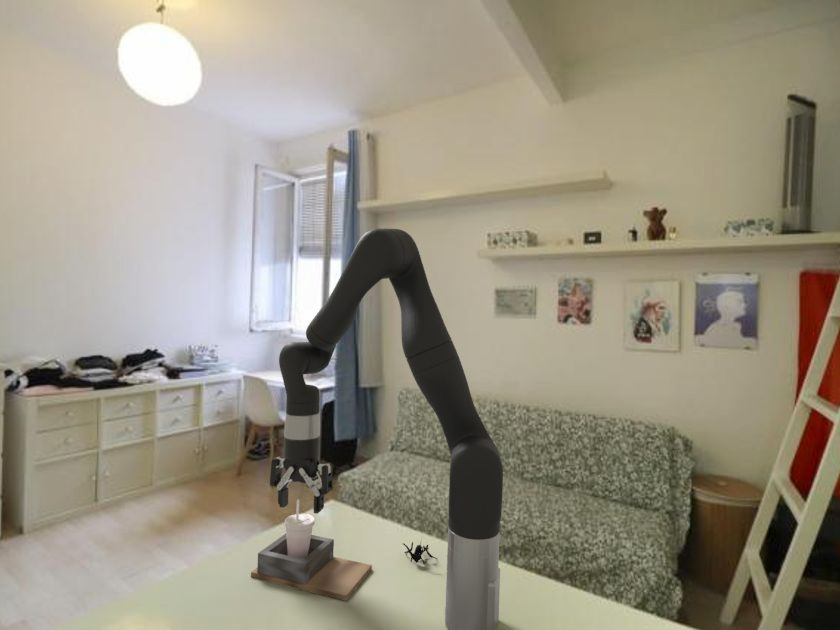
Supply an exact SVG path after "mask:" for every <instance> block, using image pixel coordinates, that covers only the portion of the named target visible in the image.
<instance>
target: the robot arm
mask: <svg viewBox="0 0 840 630" xmlns="http://www.w3.org/2000/svg"><path fill="white" fill-rule="evenodd" d="M415 241H416V240H415V239H414V238H413V237H412V236H411V235H410V234H409V233H408V232H406V231H405V230H402V229H400V228H399V229H398V228H374V229H370V230H369V231H367V232H365V233H364V234H363V235H362V236H361V237H360V238H359V240H358V242H357V243H356V244H355V247H354V249H353V251H352V253H351V255H350V257H349V259H348V260H347V263H346V265H345V267H344V269H343V271H342V273H341V275H340V277H339V279H338V280H337V283H336V284H335V287H334V288H333V290H332V291H331V293H330V295H329V296H328V298H327V299H326V301H325V303H324V304H323V305H322V307H320V309H319V311H318V312H317V313H316V315H315V316H314V317H313V319H312V320H311V321H310V323H309V324H308V325H307V328H306V331H305V336H306V339H307V341H294V342H292V341H291V342H288V343H286V344H285V345H283V347H282V349H281V350H280V353H279V356H278V365H279V369H280V373H281V377H282V382H283V385H284V389H285V394H286V402H285V405H286V407H285V410H286V412H285V420H284V429H283V431H284V434H283V435H284V436H283V438H284V439H283V455H284V458H283V456H281V455H279V456H277V457H275V458H272V460H271V465H270V478H269V486H271V487H275V488H276V489H277V503H278V505H279V508H285V507H288V504H289V487H288V486H289V484H290V483H291V482H293V483H296V482H299V483H301V484H306V485H307V487H308V488H309V489H311V490H312V493H313V494H314V495H313V513H314V514H319V513H320V512H322V510H323V509H324V507H325V495H327V494H329V493H331V491H333V490H334V485H333V484H334V483H333V479H334V478H333V475H334V474H333V464H332V462H327V463H320V459H319V456H320V451H321V449H320V448H321V446H320V445H321V418H320V417H321V415H320V408H321V407H320V406H321V405H320V402H321V401H320V398H321V396H320V395H321V393H320V388H319V387H318V386H315V385H313V384H308V383H307V384H306V381H305V378H304V375H311V374H319V373H320V372H323V370H325V369H326V368H327V367H328V365H329V364H330V362H331V359H332V356H333V354H334V352H335V349H336V345H337V344H338V343H339V342H340V341H341V340H342V339H343V336H345V334H347V332H348V330H349V329H350V328H351V327H352V325H353V324H354V321H355V319H356V317H357V313H358V309H359V306H360V304H361V302H362V300H363V298H364V297H365V295H366V294H367V293H368V292H369V291H370V290H371V289H373V288H374V286H376V284H378V283H380V282H381V281H382V280H383V279H384V280H385V279H388V280H389V282H390V284H391V286H392V288H393V291H394V292H395V295H396V297H397V300H398V302H399V303H398V304H399V307H400V308H399V309H400V317H401V319H400V320H401V321H400V324H401V325H400V326H401V327H400V328H401V331H400V332H401V335H400V336H401V345H402V349H403V354H404V357H405V359H406V362H407V364H408V366H409V370H410V372H411V374H412V377H413V378H414V381H415V383H416V385H417V387H418V388H419V389H420V391H421V393H422V395H423V397H424V398H425V399H426V402H427V403H428V404H429V406H430V407H431V408H432V410H433V412H434V414H435V416H437V419H438V421H439V423H440V426H441V428H442V431H443V434H444V437H445V440H446V443H447V446H448V450H449V451H448V452H449V454H450V464H449V483H448V484H449V485H448V487H449V489H448V491H449V493H448V524H447V525H448V530H447V555H446V557H447V558H446V584H445V585H446V586H445V588H446V589H445V607H444V613H445V614H444V615H445V616H444V617H445V618H444V622H445V626H446V629H447V630H497V629H498V628H497V627H498V624H499V619H500V589H501V588H500V587H501V568H500V567H499V562H500V559H499V558H500V557H499V556H500V531H501V519H502V513H503V511H502V510H503V509H502V508H503V490H504V487H503V485H504V469H503V463H502V459H501V454H500V452H499V450H498V448H497V446H496V444H495V442H494V441H493V439H492V438H491V435H490V434H489V431H488V430H487V428H486V426H485V424H484V422H483V421H482V419H481V417H480V415H479V413H478V411H477V409H476V407H475V404H474V400H473V398H472V397H473V396H472V394H471V391H470V386H469V384H468V380H467V376H466V373H465V370H464V367H463V365H462V362H461V359H460V357H459V353H458V351H457V349H456V346H455V344H454V342H453V340H452V337H451V335H450V333H449V331H448V329H447V326H446V324H445V321H444V319H443V317H442V314H441V312H440V309H439V307H438V304H437V302H436V300H435V297H434V295H433V293H432V290H431V287H430V284H429V281H428V277H427V274H426V271H425V268H424V264H423V261H422V258H421V254H420V251H419V247H418V246H417V243H416V242H415ZM283 468H284V470H285V471H286V472H285V473H284V474H283V476H282V473H283ZM318 472H319V473H318ZM320 475H321V476H320Z"/></svg>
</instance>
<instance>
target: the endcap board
mask: <svg viewBox="0 0 840 630" xmlns="http://www.w3.org/2000/svg"><path fill="white" fill-rule="evenodd" d="M334 543H335V540H334V538H329V537H323V536H318V535H315V534H311V540H310V545H309V551H308V556H307V557H305V558H304V559H301V558H296V557H292V556H288V551H287V537H286V533H284V534H283V535H281V536H280V537H278V538H277V539H276V540H274V541H273V542H272V543H270V544H269V545H267V546H266V547H264V548H263V549H262V550H261V551H259V552H258V553H257V567H256V568H254V569H253V570H252V571H250V577H251V576H252V577H251V578H253V577H255V578H254V579H257V578H259V579H258V580H260V581H266V582H269V583H274V584H277V585H282V586H285V587H290V588H293V589H298V590H302V591H305V592H310V593H314V594H318V595H321V596H325V597H330V598H334V599H338V600H342V601H345V602H346V601H347V600H348V599H349V598H350V597H351V596H352V594H353V593H354V592H355V590H356V589H357V588H358V587H359V586H360V584H361V583H362V582H364V580H365V579H366V577H367V576H368V575H369V574H370V573H371V571H372V570H373V565H372V564H368V563H363V562H359V561H354V560H350V559H345V558H341V557H336V556H334V550H335V549H334V545H335V544H334Z"/></svg>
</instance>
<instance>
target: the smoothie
mask: <svg viewBox="0 0 840 630" xmlns="http://www.w3.org/2000/svg"><path fill="white" fill-rule="evenodd" d="M295 511H296V512H295V514H292V515H289V516H287V517H285V519H284V524H283V525H284V528H285V532H286V533H285V534H286V537H287V551H288V556H292V557H296V558H301V559H304V558H305V557H307V556H308V551H309V545H310V540H311V535H313V534H312V532H313V527H314V526H315V523H316V522H315V519H316V518H315V517H314V516H313V515H311V514H308V513H300V498H297V499H296V509H295Z"/></svg>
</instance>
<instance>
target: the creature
mask: <svg viewBox="0 0 840 630" xmlns="http://www.w3.org/2000/svg"><path fill="white" fill-rule="evenodd" d="M422 538H423V537H421V540H422ZM401 545H403V546H404V547H405V548H406V549H407V551H404V553H405V554H409V555H410V556H411V557H410V562H412V561H414V562H415V564H417V563H418V562H419V561H422V564H423V565H425V564H426V563H427V561H428V558H426V559H423V558H422V555H423V554H424V552H426V554H427V555H428V557H430V559H435V560H438V558H437V557H435V556H433V555H432V554H431V553H430V551H429V550H430V548H429V544H427V545H426V546H425V545H422V541H420V542H419V544H418V545H416V547H415V549H414V553H413V552H412V551H413V548H414V541H412V542H411V546H410V547H411V548H410V547H408V545H406V544H405V543H402V544H401ZM424 560H425V561H424Z"/></svg>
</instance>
